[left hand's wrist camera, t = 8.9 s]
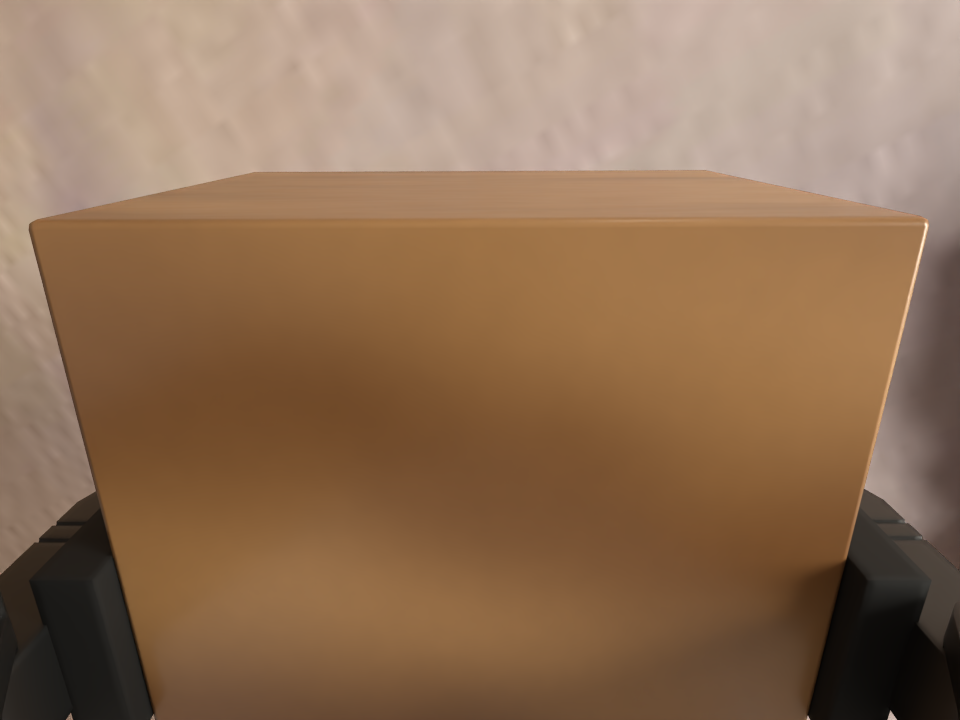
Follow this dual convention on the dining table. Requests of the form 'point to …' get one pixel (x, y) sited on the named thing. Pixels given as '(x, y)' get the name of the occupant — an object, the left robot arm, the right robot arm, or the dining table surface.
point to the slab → (480, 436)
